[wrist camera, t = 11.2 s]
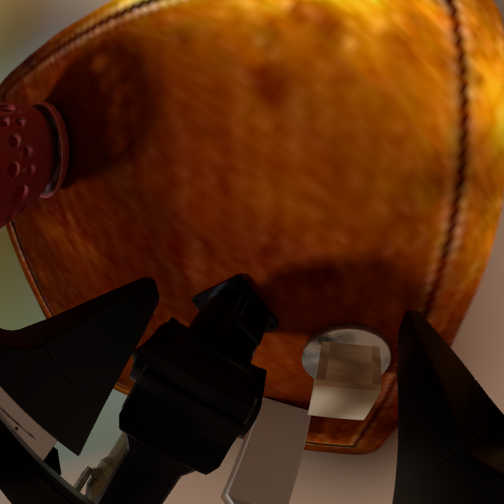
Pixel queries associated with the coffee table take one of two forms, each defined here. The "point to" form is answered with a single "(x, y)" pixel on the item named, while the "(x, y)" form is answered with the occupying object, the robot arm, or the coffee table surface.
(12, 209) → the plant pot
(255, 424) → the milk carton
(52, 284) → the coffee table surface
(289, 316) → the coffee table surface
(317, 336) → the post stand
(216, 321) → the robot arm
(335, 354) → the beige wooden cube
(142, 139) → the coffee table surface
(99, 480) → the thermos
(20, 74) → the coffee table surface
